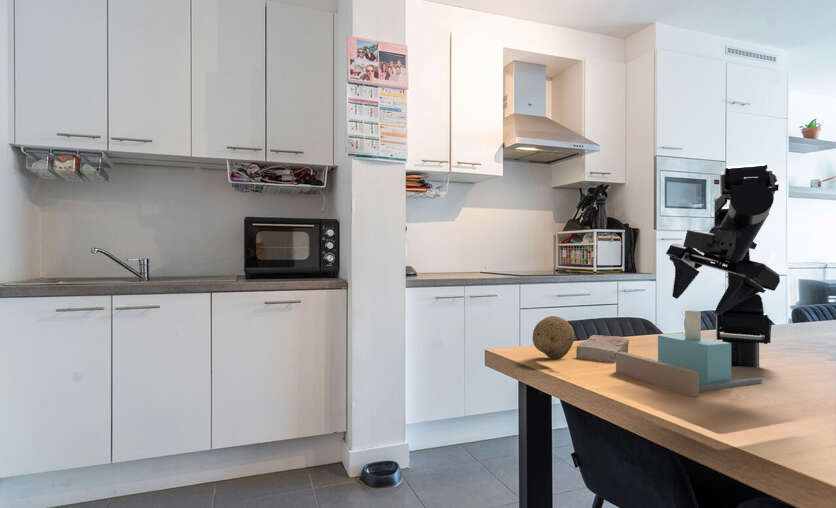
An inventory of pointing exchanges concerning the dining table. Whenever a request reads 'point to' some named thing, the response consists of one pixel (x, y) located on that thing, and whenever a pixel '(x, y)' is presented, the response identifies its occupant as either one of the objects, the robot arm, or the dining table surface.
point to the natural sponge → (553, 337)
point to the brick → (602, 348)
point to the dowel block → (696, 351)
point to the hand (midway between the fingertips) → (694, 305)
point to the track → (670, 375)
